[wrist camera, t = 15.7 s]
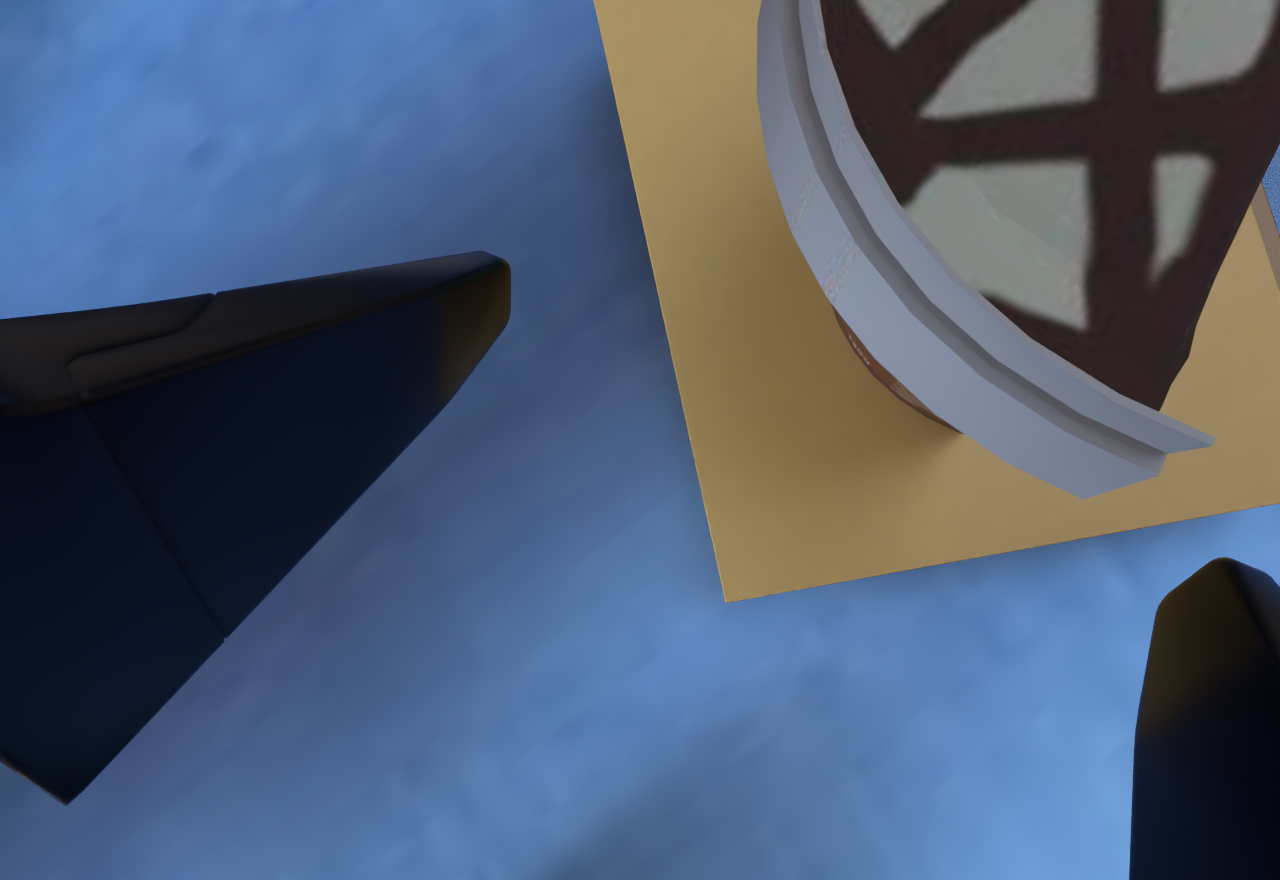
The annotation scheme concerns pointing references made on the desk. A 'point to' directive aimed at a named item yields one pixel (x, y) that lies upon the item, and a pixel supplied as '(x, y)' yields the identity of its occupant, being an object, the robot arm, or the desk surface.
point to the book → (839, 381)
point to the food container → (1023, 203)
